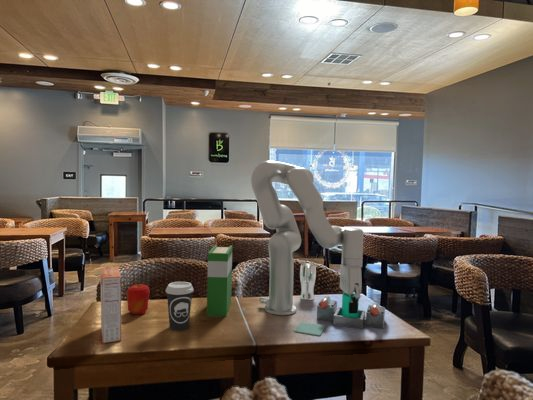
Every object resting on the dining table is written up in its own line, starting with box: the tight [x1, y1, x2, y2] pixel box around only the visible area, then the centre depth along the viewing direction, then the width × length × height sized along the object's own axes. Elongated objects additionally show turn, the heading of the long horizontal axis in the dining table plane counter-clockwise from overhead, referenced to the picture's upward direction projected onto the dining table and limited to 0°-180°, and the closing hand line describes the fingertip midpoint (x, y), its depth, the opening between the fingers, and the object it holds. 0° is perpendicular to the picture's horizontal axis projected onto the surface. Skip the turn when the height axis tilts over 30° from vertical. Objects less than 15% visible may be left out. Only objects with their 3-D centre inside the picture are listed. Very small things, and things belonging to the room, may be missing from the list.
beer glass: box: [299, 262, 317, 301], centre depth 170 cm, size 7×7×15 cm
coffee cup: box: [165, 281, 195, 332], centre depth 133 cm, size 10×10×15 cm
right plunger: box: [370, 301, 381, 316], centre depth 138 cm, size 3×8×3 cm, turn 160°
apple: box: [126, 282, 151, 316], centre depth 146 cm, size 9×8×12 cm
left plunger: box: [318, 295, 332, 309], centre depth 144 cm, size 3×8×3 cm, turn 160°
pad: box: [293, 321, 326, 337], centre depth 135 cm, size 9×9×1 cm
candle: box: [341, 292, 360, 318], centre depth 142 cm, size 6×6×12 cm
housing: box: [316, 298, 386, 330], centre depth 143 cm, size 24×13×6 cm, turn 70°
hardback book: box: [206, 244, 233, 318], centre depth 153 cm, size 18×7×24 cm, turn 179°
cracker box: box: [100, 266, 122, 344], centre depth 126 cm, size 14×6×21 cm, turn 24°
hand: (350, 310), depth 142 cm, fingers closed on candle, 4 cm apart
